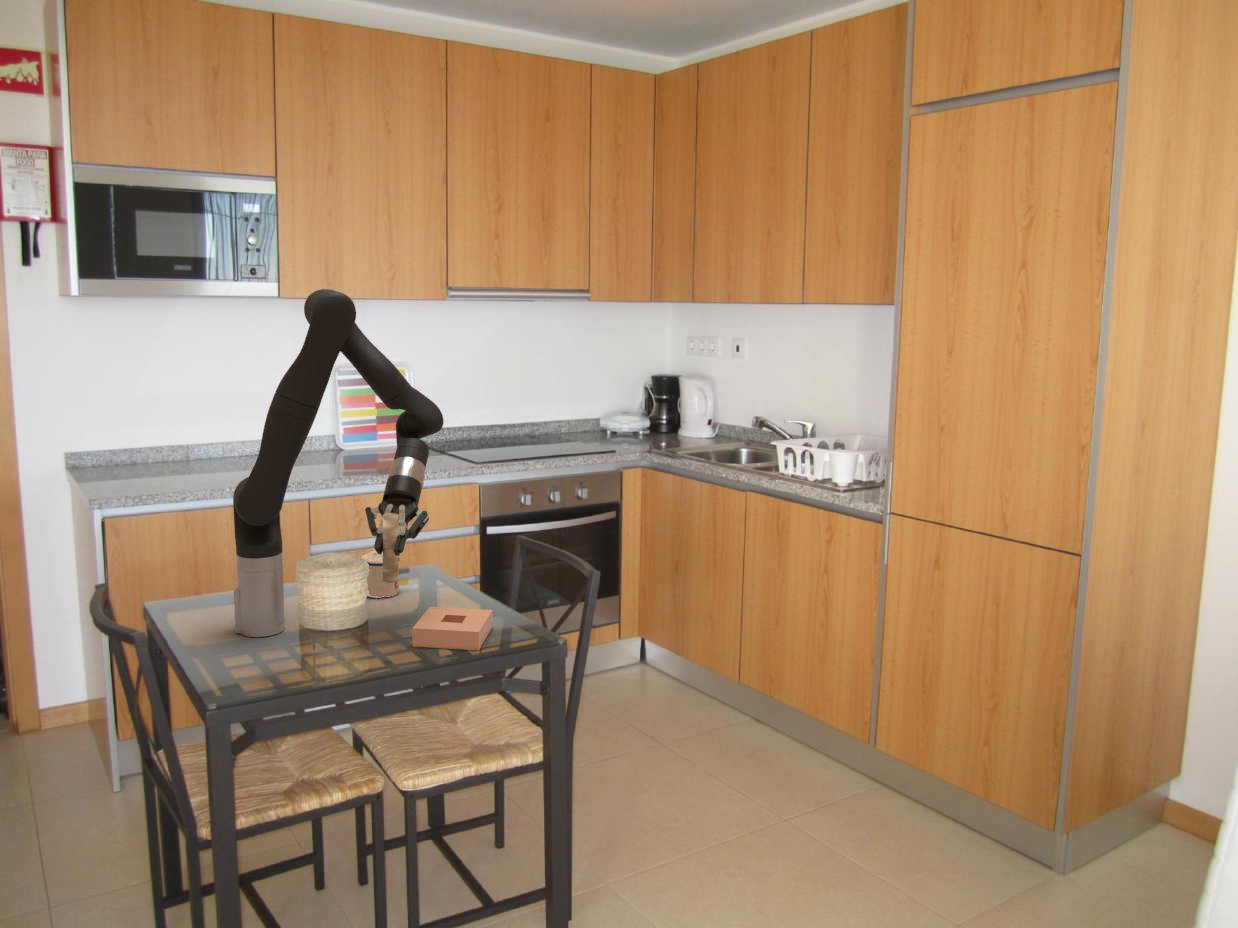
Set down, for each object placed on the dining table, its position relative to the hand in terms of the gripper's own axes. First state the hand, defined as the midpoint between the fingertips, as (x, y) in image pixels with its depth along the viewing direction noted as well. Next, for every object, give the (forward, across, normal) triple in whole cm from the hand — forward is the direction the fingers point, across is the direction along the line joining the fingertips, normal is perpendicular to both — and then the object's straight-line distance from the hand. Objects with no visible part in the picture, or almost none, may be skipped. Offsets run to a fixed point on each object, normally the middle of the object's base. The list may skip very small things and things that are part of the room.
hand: (387, 552), depth 208 cm
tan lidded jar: (-10, -13, +38) cm, 42 cm away
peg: (+3, 0, +6) cm, 7 cm away
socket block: (+9, +12, +19) cm, 24 cm away
